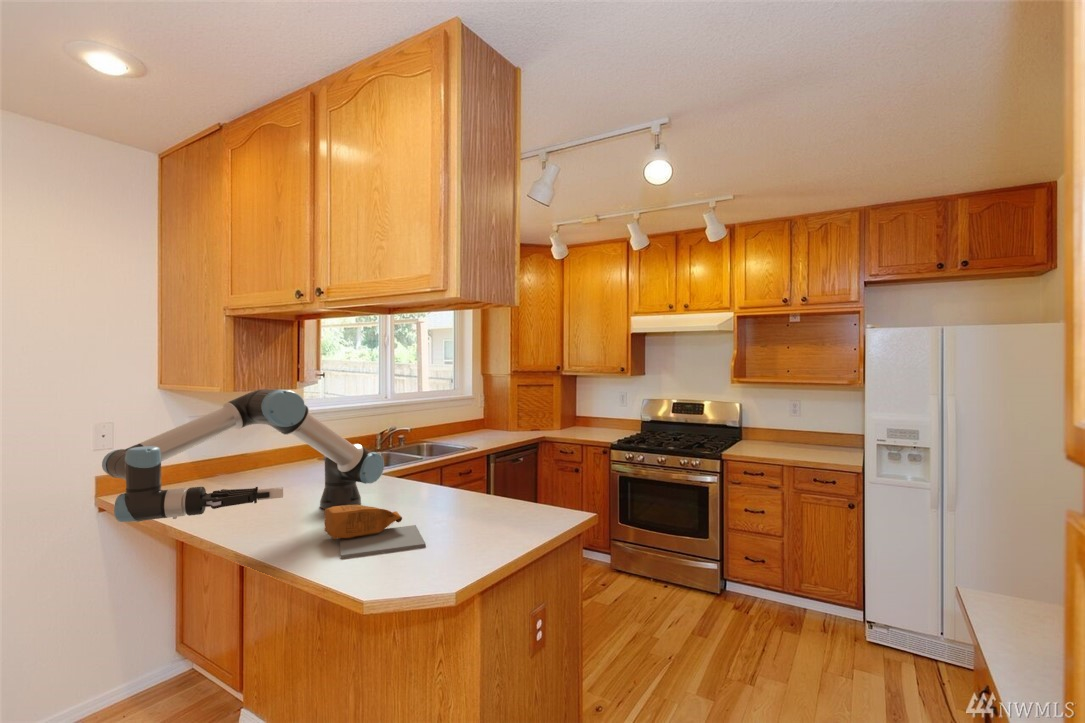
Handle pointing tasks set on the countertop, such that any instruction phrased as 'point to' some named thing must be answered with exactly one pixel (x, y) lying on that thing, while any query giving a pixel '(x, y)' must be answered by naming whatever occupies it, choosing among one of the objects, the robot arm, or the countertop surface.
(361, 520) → the coffee package
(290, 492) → the countertop surface
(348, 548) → the topple mat
